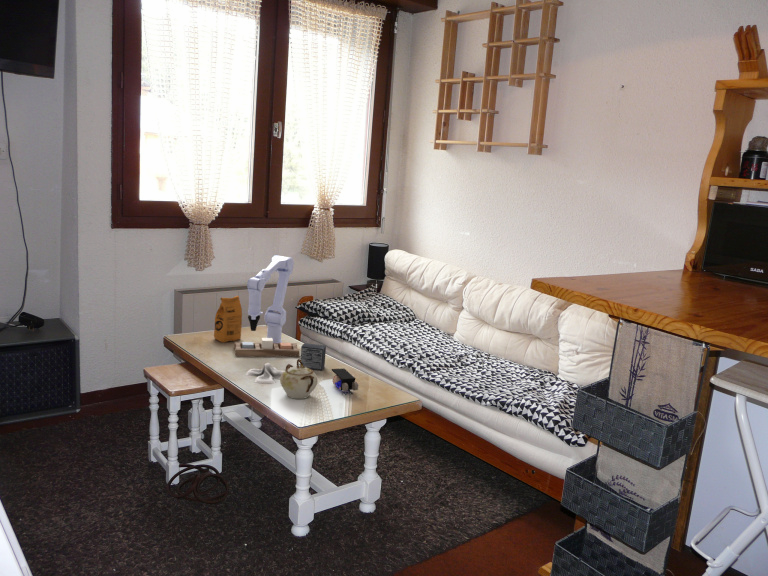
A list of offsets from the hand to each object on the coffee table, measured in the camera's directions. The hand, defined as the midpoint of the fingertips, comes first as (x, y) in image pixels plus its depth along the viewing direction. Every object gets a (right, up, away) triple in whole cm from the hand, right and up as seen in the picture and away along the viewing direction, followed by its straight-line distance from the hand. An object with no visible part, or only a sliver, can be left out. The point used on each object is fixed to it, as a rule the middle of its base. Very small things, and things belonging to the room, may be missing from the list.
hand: (253, 330), depth 311 cm
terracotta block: (+15, -11, +5) cm, 19 cm away
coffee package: (-17, -6, +17) cm, 25 cm away
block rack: (+6, -11, +2) cm, 12 cm away
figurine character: (+45, -23, -39) cm, 64 cm away
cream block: (+6, -8, +2) cm, 10 cm away
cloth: (+13, -18, -29) cm, 37 cm away
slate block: (-3, -10, 0) cm, 10 cm away
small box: (+30, -16, -14) cm, 37 cm away
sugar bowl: (+28, -23, -50) cm, 61 cm away
